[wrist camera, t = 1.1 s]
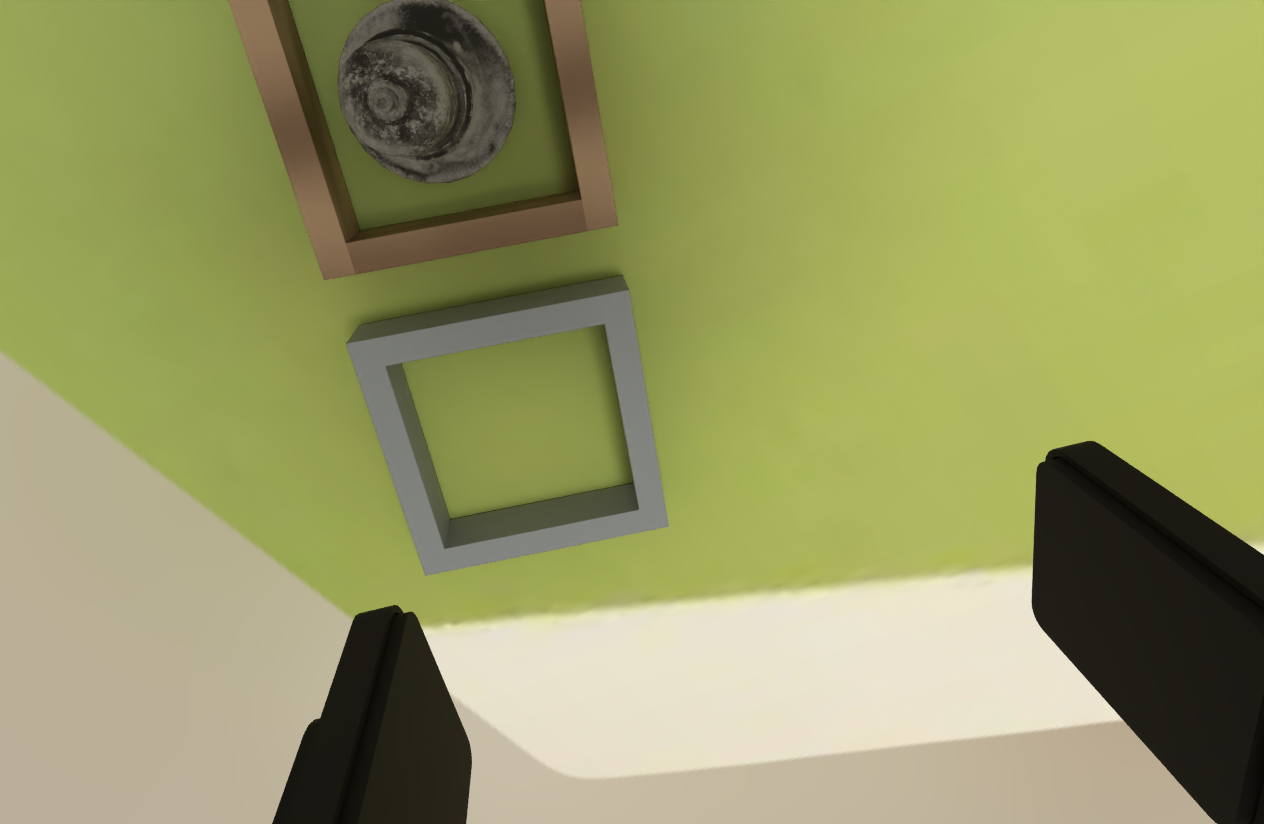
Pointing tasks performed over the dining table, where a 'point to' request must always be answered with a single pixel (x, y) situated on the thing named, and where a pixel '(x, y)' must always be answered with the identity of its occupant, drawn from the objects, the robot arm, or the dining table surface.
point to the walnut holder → (354, 251)
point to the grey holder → (488, 325)
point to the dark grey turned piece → (426, 90)
